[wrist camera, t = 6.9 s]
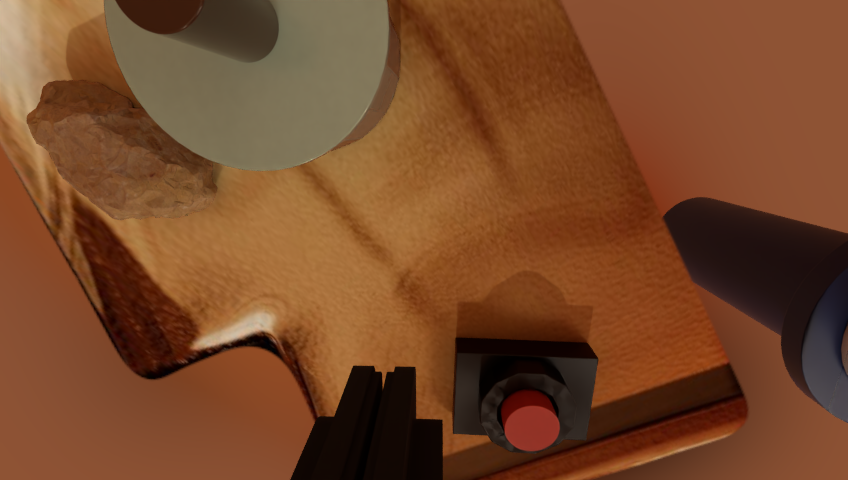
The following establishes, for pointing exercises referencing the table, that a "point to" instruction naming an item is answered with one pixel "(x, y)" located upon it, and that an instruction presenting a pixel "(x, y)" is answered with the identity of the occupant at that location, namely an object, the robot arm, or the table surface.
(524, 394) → the button
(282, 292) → the table surface
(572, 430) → the button block
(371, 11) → the lid
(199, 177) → the stone tool
